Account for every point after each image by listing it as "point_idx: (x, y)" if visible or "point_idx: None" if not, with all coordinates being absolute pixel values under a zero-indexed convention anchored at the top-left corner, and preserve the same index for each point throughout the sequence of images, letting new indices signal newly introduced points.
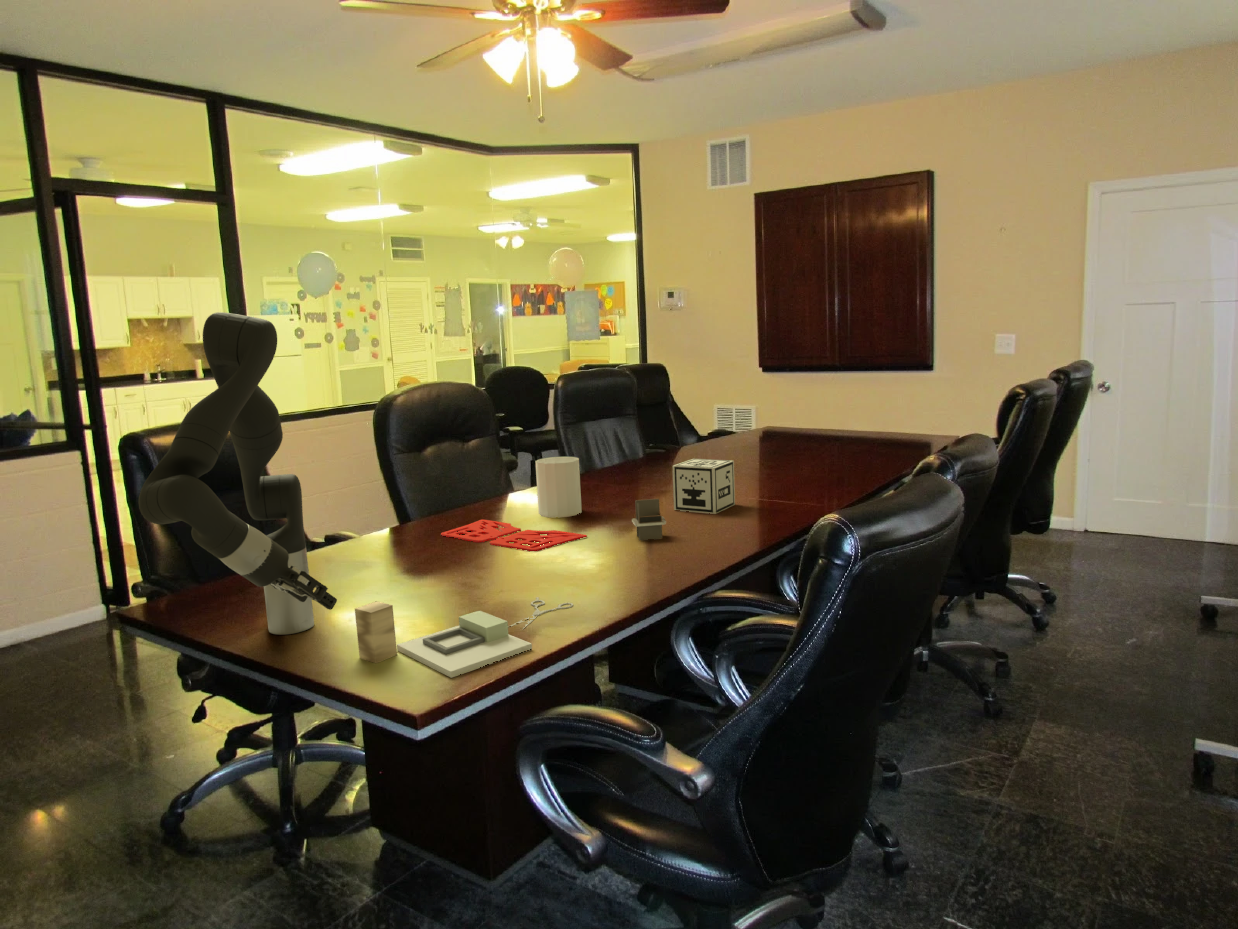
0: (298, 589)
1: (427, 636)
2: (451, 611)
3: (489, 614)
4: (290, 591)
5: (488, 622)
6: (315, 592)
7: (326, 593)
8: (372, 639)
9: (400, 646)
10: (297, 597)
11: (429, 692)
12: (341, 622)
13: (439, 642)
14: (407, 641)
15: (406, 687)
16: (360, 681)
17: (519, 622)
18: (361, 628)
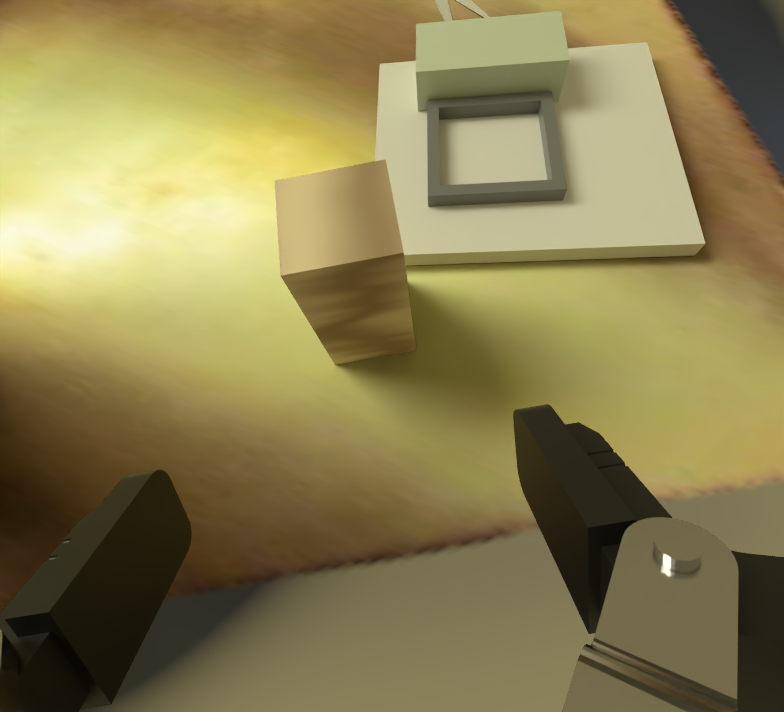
0: (115, 582)
1: None
2: (239, 75)
3: (468, 19)
4: (101, 690)
5: (529, 41)
6: (769, 694)
7: (663, 509)
8: (406, 315)
9: None
10: (158, 594)
11: (765, 341)
12: (28, 280)
13: (455, 174)
14: None
15: (677, 371)
16: None
17: (448, 13)
18: (337, 311)
